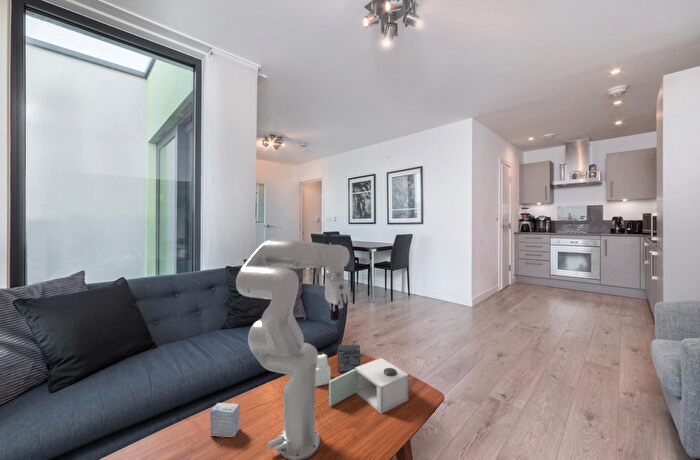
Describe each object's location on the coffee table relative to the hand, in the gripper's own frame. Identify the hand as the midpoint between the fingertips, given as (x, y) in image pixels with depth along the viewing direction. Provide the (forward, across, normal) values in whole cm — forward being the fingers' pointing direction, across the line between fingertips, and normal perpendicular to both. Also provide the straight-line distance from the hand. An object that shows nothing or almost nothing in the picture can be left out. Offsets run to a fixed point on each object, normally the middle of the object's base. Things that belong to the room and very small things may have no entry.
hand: (334, 319), depth 114 cm
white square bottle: (+29, +9, +2) cm, 31 cm away
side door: (+29, -7, +1) cm, 30 cm away
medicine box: (+29, 0, +42) cm, 51 cm away
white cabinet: (+29, -14, -13) cm, 35 cm away
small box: (+29, +10, -14) cm, 34 cm away
